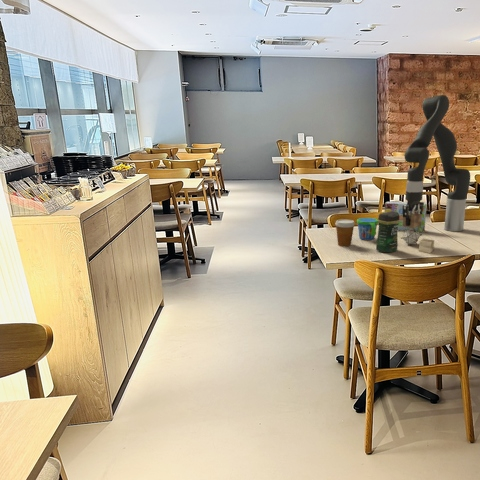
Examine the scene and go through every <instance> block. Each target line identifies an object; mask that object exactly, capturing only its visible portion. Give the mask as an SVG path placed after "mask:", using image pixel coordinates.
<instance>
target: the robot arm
mask: <svg viewBox="0 0 480 480" xmlns="http://www.w3.org/2000/svg"><path fill="white" fill-rule="evenodd" d="M449 100H450V99H449V97H448V95H445V94H439V95H435V96H431V97H426V98H425V99H424V100H423V101H422V105H421V107H422V112H423V114H424V116H425V119H426V121H425V123H424V124H422V126H420V128H419V129H418V132H417V133H416V136H415V138H414V140H413V141H412V142H411V144H410V145H408V146H407V148H406V150H405V152H404V160H405V161H406V163H409V164H410V163H411V164H414V163H415V164H417V166H416V167H410V168H408V170H407V177H406V178H407V179H406V180H407V181H406V186H405V196H404V197H405V198H404V199H405V201H407V202H406V203H407V205H403V217H405V218H406V223H405V224H406V226H410V223H411V215H412V214H413V213H416V212H417V214H422V213H423V206H424V204H425V202H423V201H422V200H423V196H424V195H423V193H424V172H425V169H426V166H427V163H428V160H429V157H430V151H429V149H428V147H429V146H430V144H431V142H432V139H434V140H433V141H434V143H435V146H436V149H437V152H438V155H439V159H440V161H441V164H442V165H441V166H442V170H443V175H444V176H443V177H444V179H445V181H446V183H447V185H449V186H452V187H453V186H455V190H453V191H450V192H448V193H447V194H446V195H447V196H446V207H445V217H444V230H445V231H450V232H462V231H464V227H465V216H466V203H467V195H468V193H469V188H470V181H471V173H470V170H468V169H466V168H459V167H458V168H457V167H456V164H455V161H454V160H455V159H454V158H455V156H456V154H457V153H456V152H457V149H458V143H457V140H456V137H455V135H454V132H452V130H451V129H449V128H448V127H447V126H446V125H444V124H443V123H442V120H443V119H444V118H445V116H446V114H447V113H448V111H449V108H450V101H449ZM420 209H421V211H420ZM409 211H410V212H409ZM405 213H406V215H405Z"/></svg>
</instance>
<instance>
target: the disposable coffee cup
mask: <svg viewBox="0 0 480 480" xmlns="http://www.w3.org/2000/svg"><path fill="white" fill-rule="evenodd" d="M334 225H335V229H336V238H337V240H336V241H337V245H338V246H340V247H350V246H351V245H352V240H353V235H354V233H353V232H354V228H355V225H356V224H355V221H354V220H352V219H343V218H342V219H337V220H336V221H335V223H334Z"/></svg>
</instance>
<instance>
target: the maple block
mask: <svg viewBox="0 0 480 480" xmlns="http://www.w3.org/2000/svg"><path fill="white" fill-rule="evenodd" d="M434 248H435V240H434V239H429V238H422V239H420V241H419V245H418V251H419V252H422V253H427V254H428V253H429V254H430V253H432V252H433V251H434Z"/></svg>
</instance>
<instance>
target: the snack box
mask: <svg viewBox="0 0 480 480" xmlns="http://www.w3.org/2000/svg"><path fill="white" fill-rule="evenodd" d="M403 205H407V202H402V201H401V202H399V201H398V202H397V201H386V202H385V203H384V209H383V210H384V211H383V213H385V212H390V211H393V212H398V213H399V223H398V231H402V232H403V231H404V232H405V231H406V230H410V229H413V228H409V227H404V226H403ZM427 205H428V204H427V203H424V206H423V213H422V221H421V227H417V228H414V230H416V232H417V233H424V231H425V228H426V217H427V216H426V215H427ZM420 211H421V209H420ZM409 212H410V211H409ZM416 213H417V212H416ZM405 214H406V213H405ZM405 229H406V230H405Z"/></svg>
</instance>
